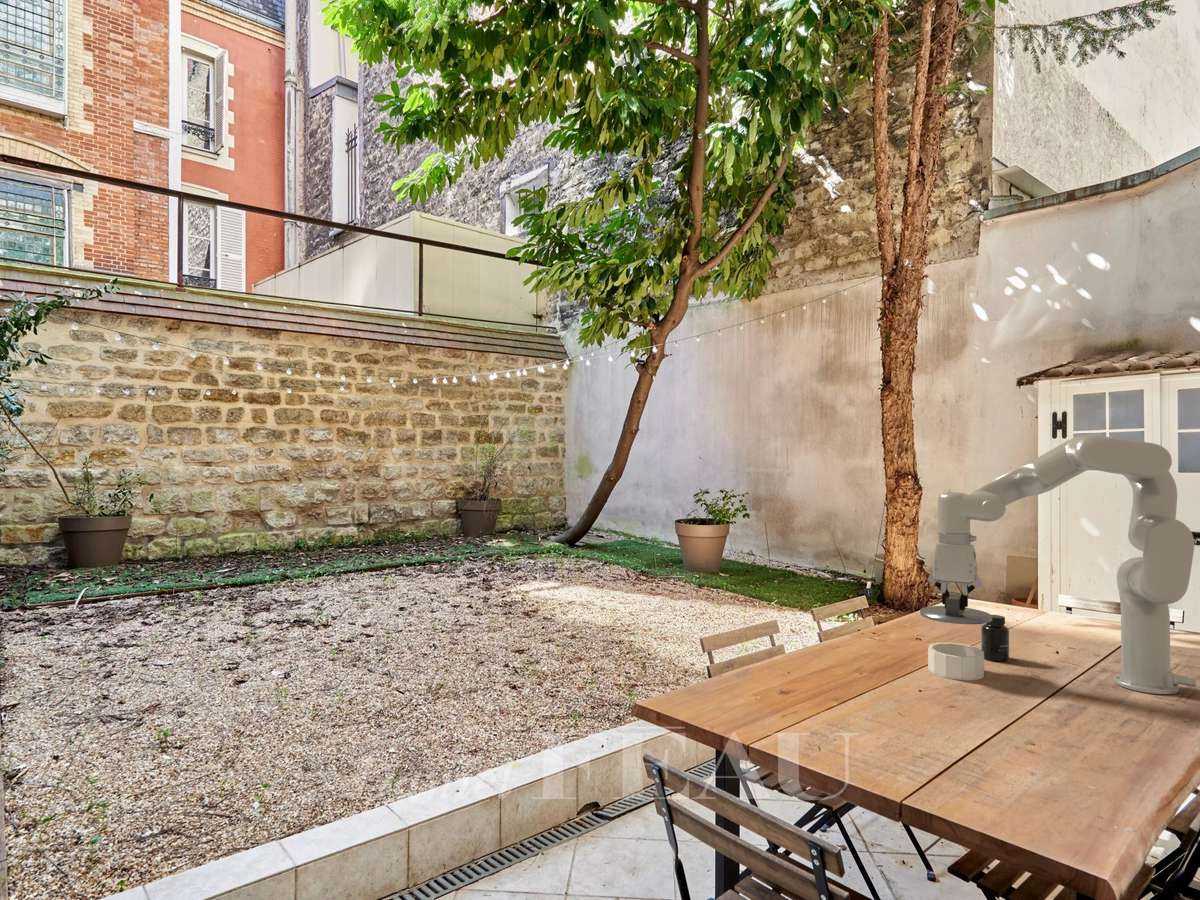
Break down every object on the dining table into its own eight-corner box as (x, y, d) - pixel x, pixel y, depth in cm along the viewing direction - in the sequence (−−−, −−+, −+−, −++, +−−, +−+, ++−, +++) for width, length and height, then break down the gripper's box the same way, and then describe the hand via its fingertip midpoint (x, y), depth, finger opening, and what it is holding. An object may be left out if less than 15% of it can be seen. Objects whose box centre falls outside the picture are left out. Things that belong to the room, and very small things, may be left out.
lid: (996, 613, 184) (995, 594, 184) (987, 627, 170) (987, 606, 170) (927, 606, 194) (926, 587, 194) (913, 618, 180) (913, 598, 180)
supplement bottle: (1007, 664, 188) (1007, 620, 188) (979, 659, 193) (979, 616, 193) (1011, 657, 194) (1010, 615, 194) (983, 653, 198) (982, 612, 198)
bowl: (984, 669, 184) (984, 646, 184) (982, 684, 173) (982, 660, 173) (931, 661, 191) (931, 640, 191) (926, 675, 180) (926, 652, 180)
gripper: (991, 539, 180) (992, 609, 180) (923, 535, 190) (924, 602, 190) (987, 542, 174) (988, 615, 174) (917, 538, 184) (918, 607, 184)
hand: (955, 607), depth 182 cm, fingers closed on lid, 3 cm apart
